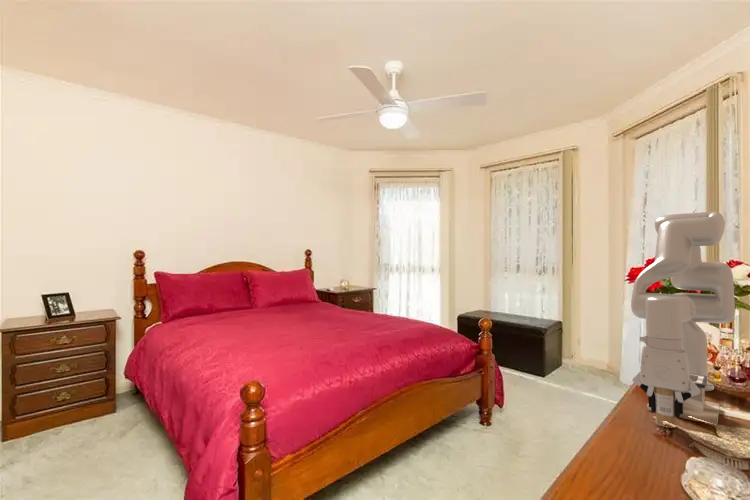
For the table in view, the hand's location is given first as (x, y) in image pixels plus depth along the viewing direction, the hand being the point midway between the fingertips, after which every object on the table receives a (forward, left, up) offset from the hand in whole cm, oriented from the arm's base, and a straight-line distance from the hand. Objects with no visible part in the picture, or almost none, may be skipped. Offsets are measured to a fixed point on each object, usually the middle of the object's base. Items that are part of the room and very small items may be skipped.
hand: (665, 412), depth 99 cm
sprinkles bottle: (0, 0, -4) cm, 4 cm away
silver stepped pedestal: (-13, +10, -3) cm, 17 cm away
